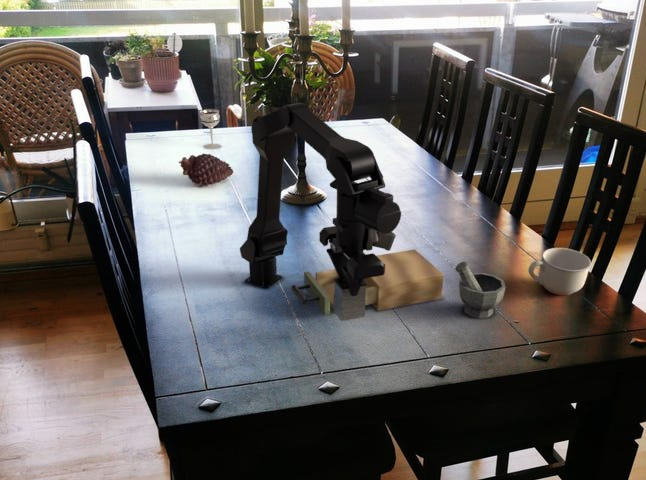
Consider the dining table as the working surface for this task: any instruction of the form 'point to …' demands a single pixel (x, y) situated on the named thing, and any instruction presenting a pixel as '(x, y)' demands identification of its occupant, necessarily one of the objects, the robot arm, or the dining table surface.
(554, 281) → the teacup
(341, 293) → the metal box
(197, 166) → the pine cone
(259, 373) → the dining table surface
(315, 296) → the drawer
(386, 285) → the cabinet
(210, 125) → the wineglass
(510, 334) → the dining table surface
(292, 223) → the dining table surface
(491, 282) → the mortar and pestle
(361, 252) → the robot arm
